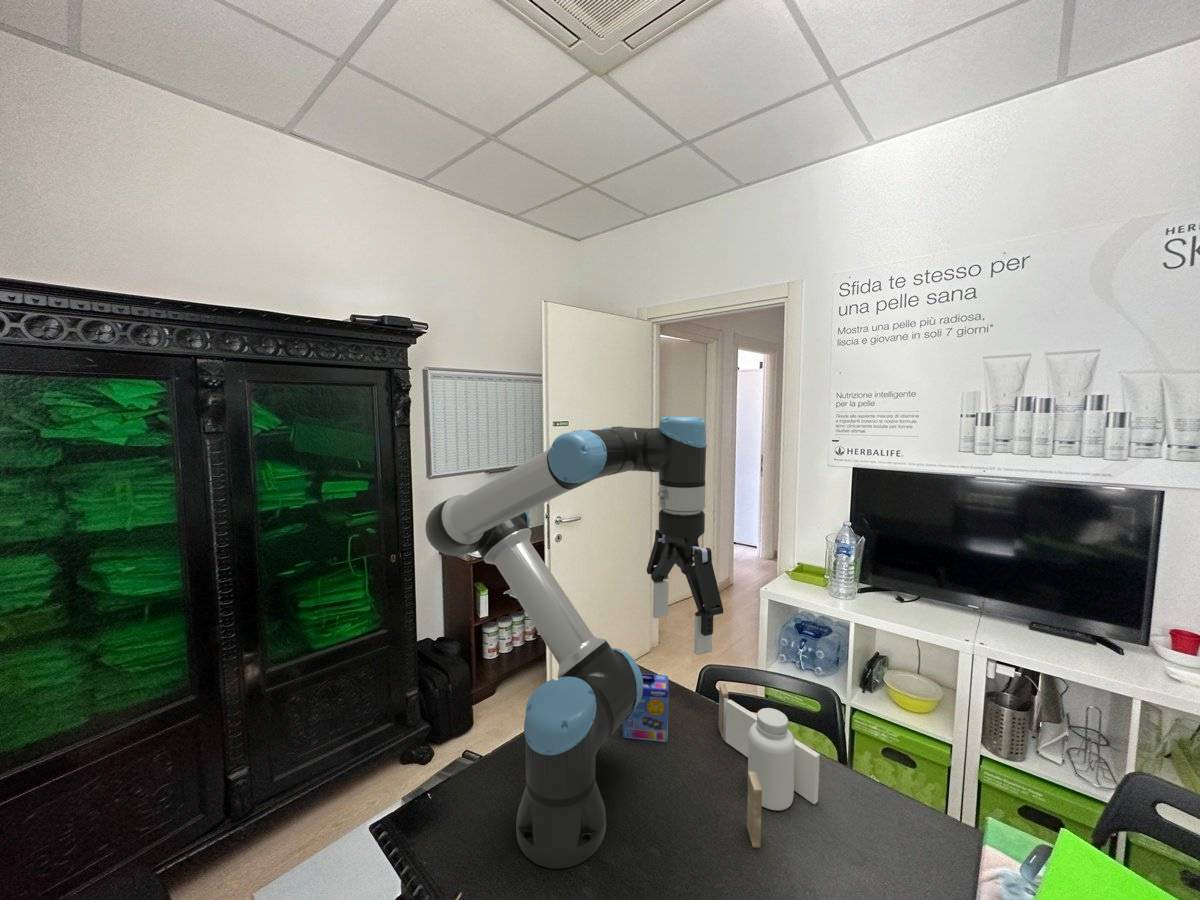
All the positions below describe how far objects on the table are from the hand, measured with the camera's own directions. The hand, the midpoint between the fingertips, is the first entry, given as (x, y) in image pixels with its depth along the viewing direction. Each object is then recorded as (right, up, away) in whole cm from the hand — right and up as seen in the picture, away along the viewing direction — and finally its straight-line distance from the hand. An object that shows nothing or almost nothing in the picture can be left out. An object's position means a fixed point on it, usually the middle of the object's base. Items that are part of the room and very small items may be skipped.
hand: (680, 633), depth 79 cm
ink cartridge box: (-4, -31, +23) cm, 39 cm away
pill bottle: (+18, -32, +7) cm, 38 cm away
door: (+19, -31, +13) cm, 39 cm away
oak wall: (+13, -32, +11) cm, 36 cm away
